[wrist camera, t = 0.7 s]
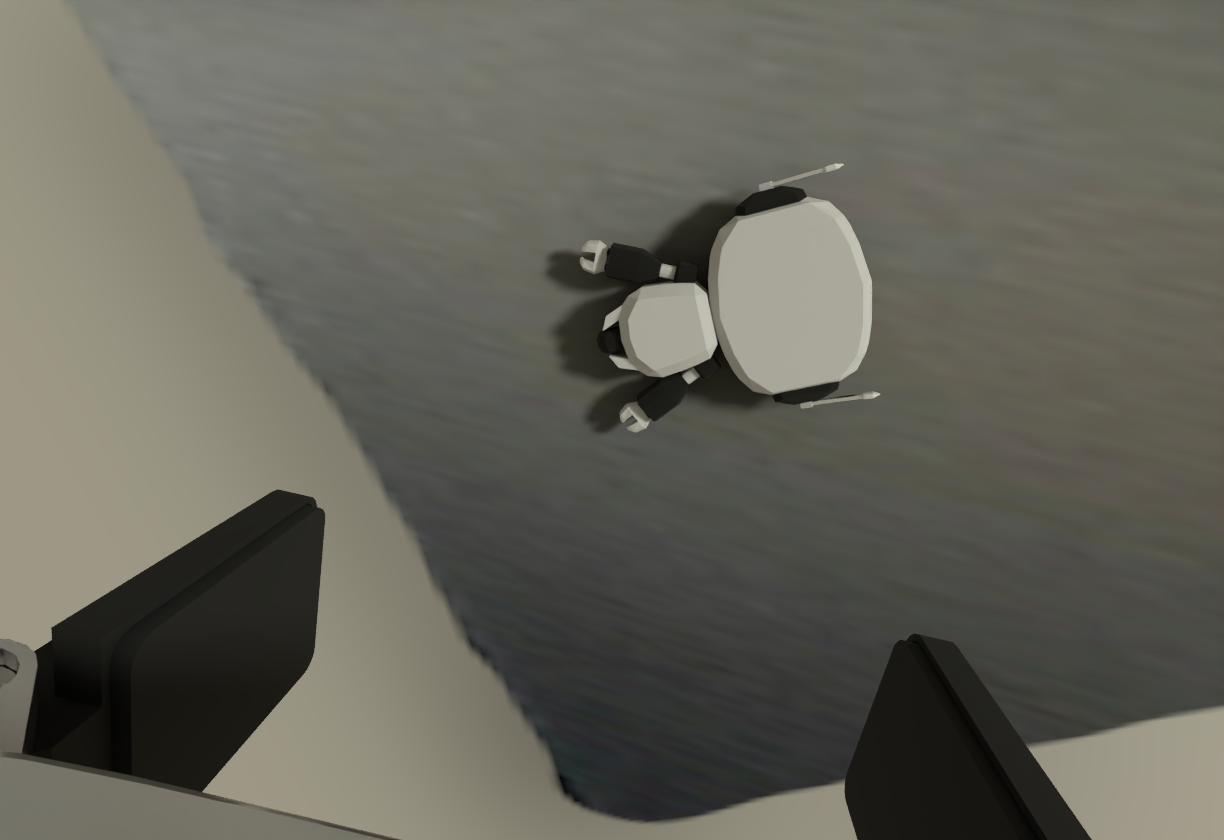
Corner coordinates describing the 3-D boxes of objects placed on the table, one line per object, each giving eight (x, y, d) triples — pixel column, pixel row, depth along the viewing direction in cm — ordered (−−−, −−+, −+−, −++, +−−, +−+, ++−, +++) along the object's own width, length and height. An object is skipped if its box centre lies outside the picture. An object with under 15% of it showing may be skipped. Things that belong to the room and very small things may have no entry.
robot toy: (629, 429, 42) (874, 380, 38) (618, 451, 37) (893, 398, 34) (580, 236, 39) (839, 165, 36) (562, 236, 35) (855, 155, 31)
